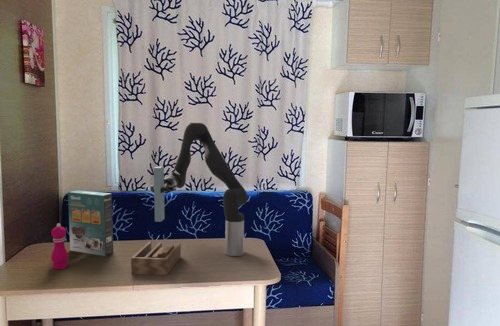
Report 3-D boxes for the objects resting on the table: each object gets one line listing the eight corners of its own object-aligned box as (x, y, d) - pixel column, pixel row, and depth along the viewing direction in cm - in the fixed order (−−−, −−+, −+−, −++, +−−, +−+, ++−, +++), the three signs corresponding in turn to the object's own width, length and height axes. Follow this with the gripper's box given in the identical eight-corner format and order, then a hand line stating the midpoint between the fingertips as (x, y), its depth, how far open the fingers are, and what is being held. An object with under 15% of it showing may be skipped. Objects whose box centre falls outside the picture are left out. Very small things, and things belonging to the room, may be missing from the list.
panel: (164, 218, 201) (163, 166, 198) (160, 221, 195) (160, 168, 192) (158, 218, 201) (157, 166, 198) (154, 221, 195) (153, 167, 192)
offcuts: (174, 260, 194) (174, 243, 193) (166, 270, 181) (166, 252, 180) (160, 259, 194) (160, 243, 194) (152, 269, 182) (151, 252, 181)
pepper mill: (65, 262, 189) (63, 220, 186) (71, 266, 183) (69, 223, 181) (48, 266, 184) (47, 223, 181) (54, 270, 178) (52, 226, 176)
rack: (180, 256, 198) (180, 242, 197) (167, 275, 175) (166, 259, 174) (149, 255, 199) (148, 241, 199) (131, 273, 176) (131, 257, 176)
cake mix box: (113, 252, 204) (111, 193, 201) (105, 256, 198) (103, 195, 195) (79, 247, 212) (77, 190, 208) (70, 250, 206) (68, 192, 203)
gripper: (154, 177, 211) (142, 182, 194) (180, 177, 210) (171, 183, 192) (154, 191, 212) (143, 198, 194) (181, 192, 210) (171, 199, 193)
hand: (157, 190), depth 194 cm, fingers closed on panel, 3 cm apart
